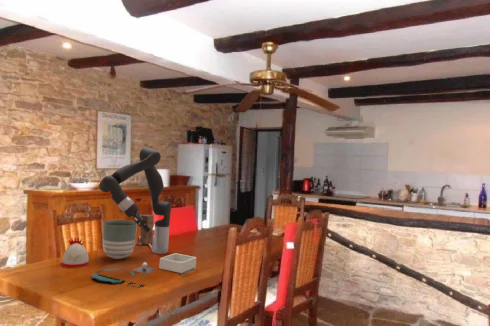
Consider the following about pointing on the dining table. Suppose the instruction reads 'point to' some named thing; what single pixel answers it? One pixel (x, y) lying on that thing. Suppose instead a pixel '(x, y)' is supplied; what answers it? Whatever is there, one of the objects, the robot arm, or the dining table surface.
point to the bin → (178, 263)
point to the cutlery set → (110, 279)
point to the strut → (145, 236)
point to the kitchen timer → (75, 255)
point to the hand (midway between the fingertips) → (149, 229)
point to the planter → (119, 238)
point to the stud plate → (144, 269)
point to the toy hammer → (142, 244)
